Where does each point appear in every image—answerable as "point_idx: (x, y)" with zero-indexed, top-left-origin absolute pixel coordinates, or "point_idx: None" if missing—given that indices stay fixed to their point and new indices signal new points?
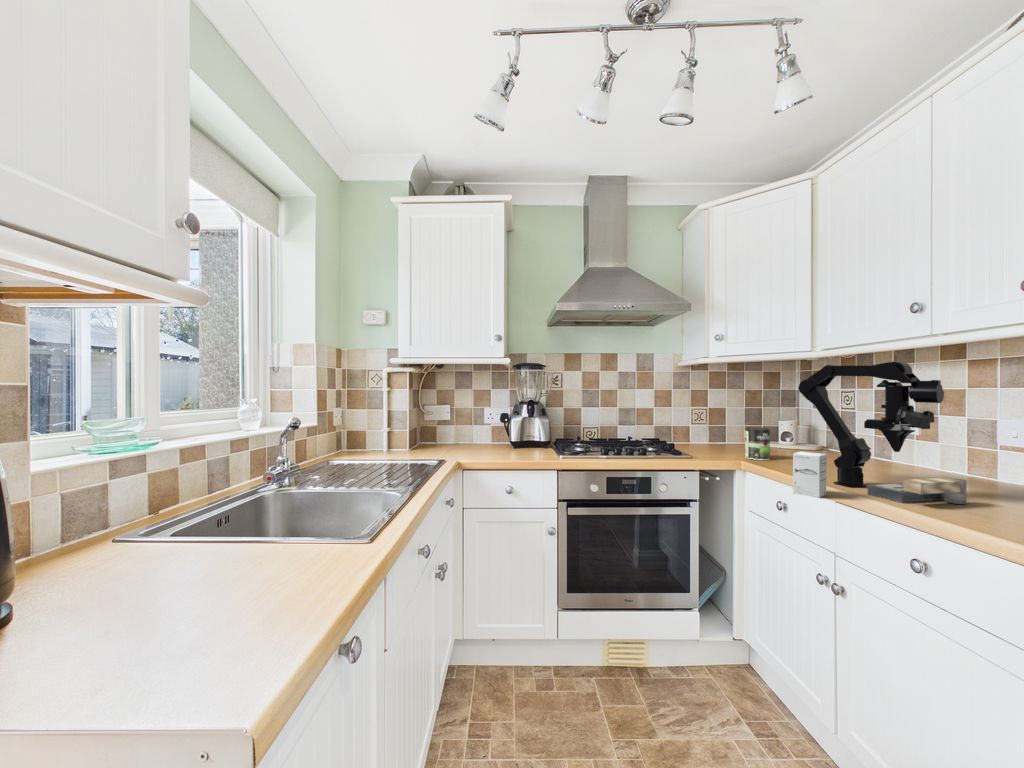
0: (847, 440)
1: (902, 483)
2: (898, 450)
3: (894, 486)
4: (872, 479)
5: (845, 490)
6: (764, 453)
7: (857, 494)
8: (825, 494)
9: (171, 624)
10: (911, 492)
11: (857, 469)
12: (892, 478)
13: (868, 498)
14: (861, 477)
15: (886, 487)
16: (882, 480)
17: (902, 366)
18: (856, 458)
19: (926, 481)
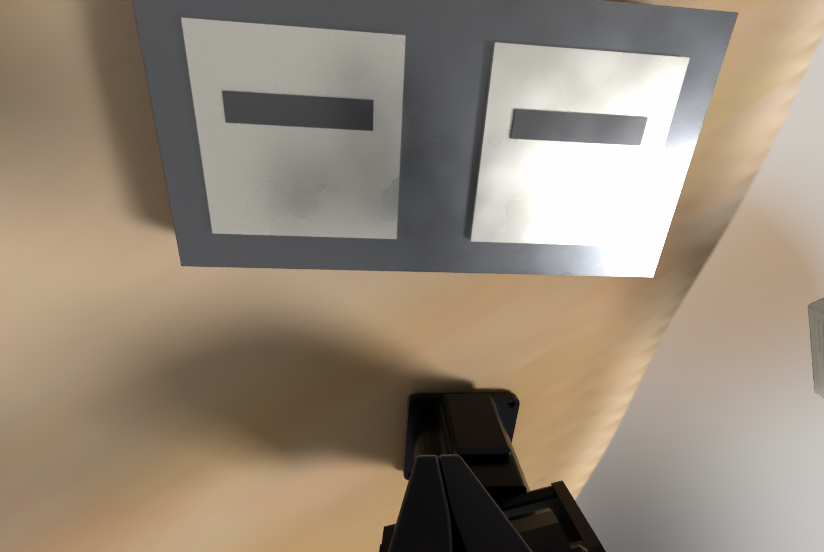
0: None
1: (362, 262)
2: (450, 468)
3: (580, 172)
4: (183, 513)
5: (610, 352)
6: None
7: (658, 271)
8: (819, 300)
9: None
10: (643, 5)
11: (497, 480)
12: (31, 519)
13: (716, 182)
14: (469, 427)
15: (654, 172)
16: (146, 491)
17: None
18: (597, 543)
19: None
